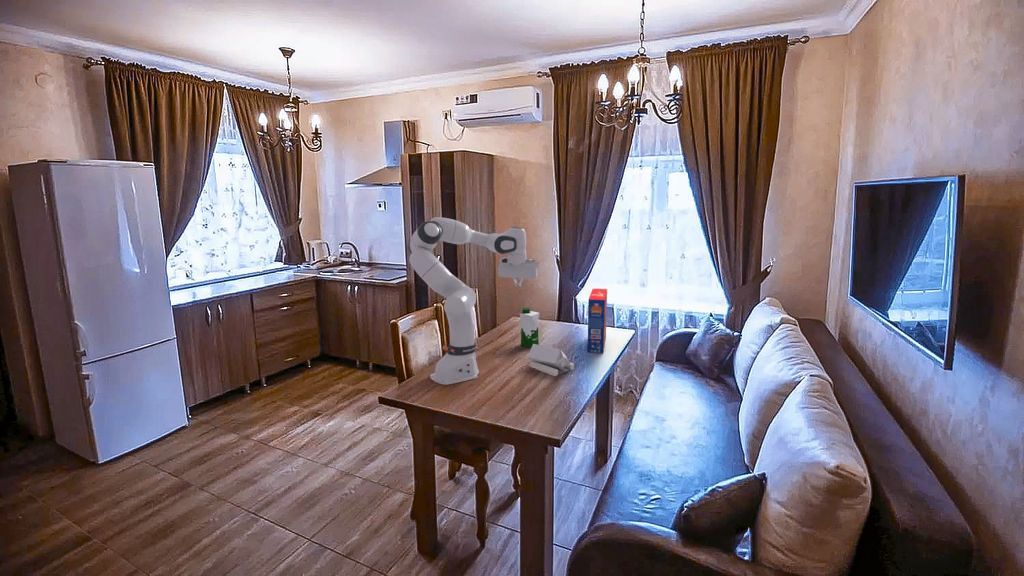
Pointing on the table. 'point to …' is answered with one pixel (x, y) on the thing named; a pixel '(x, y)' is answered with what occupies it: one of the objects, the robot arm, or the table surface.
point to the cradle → (551, 368)
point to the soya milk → (529, 328)
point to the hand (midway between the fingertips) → (518, 286)
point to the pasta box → (597, 320)
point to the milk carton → (548, 356)
